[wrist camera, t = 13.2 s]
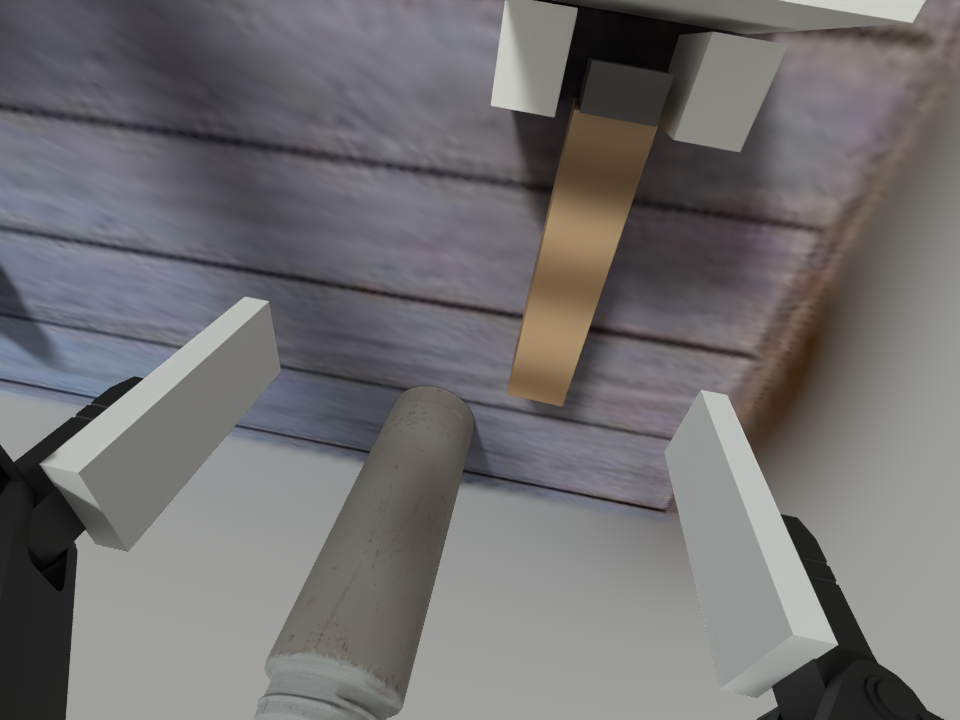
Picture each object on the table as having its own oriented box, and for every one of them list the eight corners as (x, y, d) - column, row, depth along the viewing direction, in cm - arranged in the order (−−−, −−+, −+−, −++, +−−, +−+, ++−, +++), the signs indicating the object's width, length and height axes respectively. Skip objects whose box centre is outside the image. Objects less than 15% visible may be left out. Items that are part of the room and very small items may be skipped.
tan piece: (563, 358, 36) (561, 416, 31) (515, 348, 37) (505, 403, 31) (655, 69, 25) (680, 76, 19) (583, 56, 25) (586, 59, 19)
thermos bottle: (432, 458, 46) (298, 856, 23) (376, 408, 43) (163, 805, 21) (491, 428, 42) (399, 869, 20) (434, 371, 39) (250, 809, 17)
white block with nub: (504, 92, 26) (435, 138, 13) (530, -84, 22) (467, -281, 9) (707, 129, 26) (850, 218, 13) (776, -43, 21) (1112, -188, 8)
